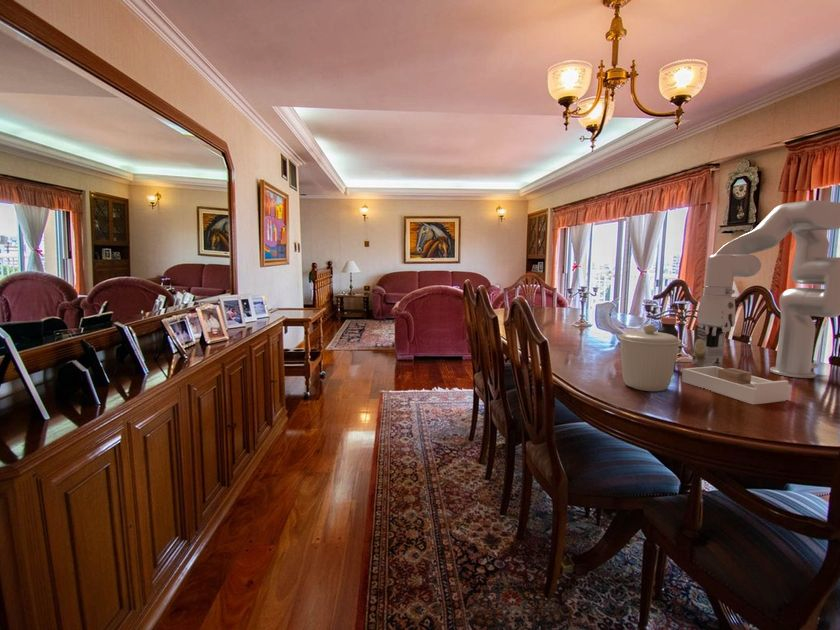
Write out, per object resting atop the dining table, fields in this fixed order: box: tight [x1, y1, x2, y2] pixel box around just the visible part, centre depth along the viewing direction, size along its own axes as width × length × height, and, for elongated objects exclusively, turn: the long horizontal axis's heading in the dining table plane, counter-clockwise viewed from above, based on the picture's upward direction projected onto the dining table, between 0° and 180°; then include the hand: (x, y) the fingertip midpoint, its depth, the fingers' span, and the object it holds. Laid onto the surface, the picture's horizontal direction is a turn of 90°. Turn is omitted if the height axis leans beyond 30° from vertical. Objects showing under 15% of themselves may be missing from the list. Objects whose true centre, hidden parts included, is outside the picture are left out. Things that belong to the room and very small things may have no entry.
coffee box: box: [691, 324, 726, 368], centre depth 162 cm, size 9×6×16 cm
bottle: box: [657, 316, 679, 372], centre depth 158 cm, size 7×7×20 cm
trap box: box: [681, 366, 791, 405], centre depth 133 cm, size 14×24×6 cm, turn 15°
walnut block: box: [718, 367, 753, 384], centre depth 132 cm, size 6×6×4 cm
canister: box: [617, 323, 683, 392], centre depth 135 cm, size 18×18×21 cm
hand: (711, 346), depth 138 cm, fingers closed
